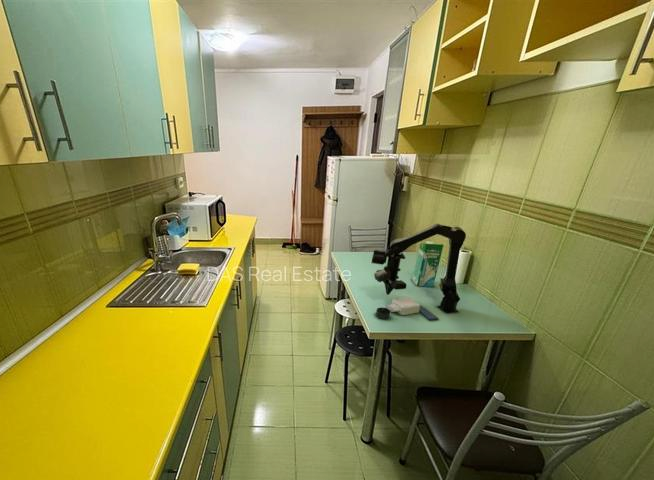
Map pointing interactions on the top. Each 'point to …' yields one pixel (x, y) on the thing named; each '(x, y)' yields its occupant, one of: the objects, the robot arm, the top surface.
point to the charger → (404, 306)
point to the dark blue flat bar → (427, 314)
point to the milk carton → (427, 264)
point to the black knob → (383, 313)
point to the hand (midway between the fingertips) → (387, 294)
